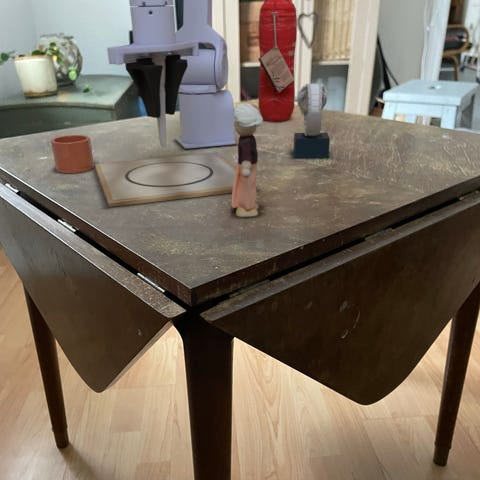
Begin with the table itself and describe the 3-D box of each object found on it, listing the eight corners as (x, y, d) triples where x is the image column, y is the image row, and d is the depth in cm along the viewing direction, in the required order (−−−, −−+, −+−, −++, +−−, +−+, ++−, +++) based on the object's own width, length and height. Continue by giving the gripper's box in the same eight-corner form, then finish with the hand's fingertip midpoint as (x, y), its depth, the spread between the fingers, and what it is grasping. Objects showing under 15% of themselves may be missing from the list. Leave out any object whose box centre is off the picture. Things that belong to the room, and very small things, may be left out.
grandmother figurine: (229, 202, 70) (226, 98, 64) (258, 201, 70) (258, 97, 64) (233, 224, 64) (231, 110, 57) (266, 222, 64) (267, 109, 57)
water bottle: (290, 127, 110) (294, -18, 97) (251, 125, 111) (251, -17, 98) (297, 115, 120) (302, -17, 107) (262, 114, 121) (262, -16, 109)
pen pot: (92, 161, 89) (88, 133, 87) (95, 171, 84) (91, 141, 82) (55, 165, 87) (50, 136, 85) (57, 174, 83) (51, 144, 80)
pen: (169, 143, 82) (160, 39, 74) (175, 147, 79) (166, 40, 72) (153, 145, 81) (142, 40, 73) (158, 149, 79) (148, 41, 71)
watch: (324, 148, 94) (329, 80, 88) (329, 160, 87) (334, 87, 81) (292, 148, 94) (294, 80, 89) (294, 160, 87) (297, 87, 82)
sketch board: (216, 156, 91) (216, 151, 90) (255, 190, 75) (255, 184, 74) (95, 167, 86) (94, 163, 85) (109, 207, 69) (108, 201, 69)
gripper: (172, 5, 78) (179, 105, 85) (87, 7, 69) (103, 119, 76) (207, 5, 74) (211, 110, 81) (121, 7, 64) (135, 126, 71)
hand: (161, 115), depth 78 cm, fingers closed on pen, 2 cm apart
